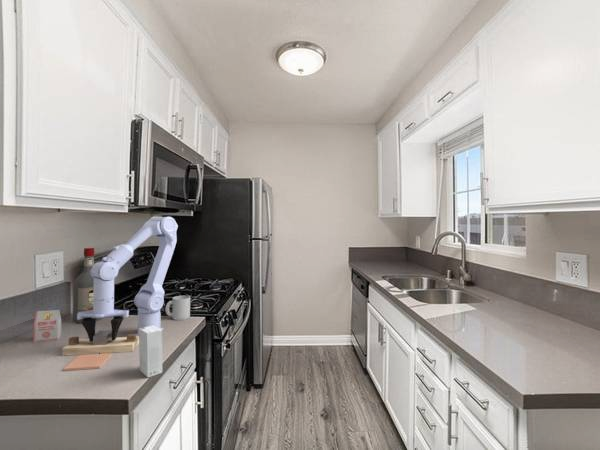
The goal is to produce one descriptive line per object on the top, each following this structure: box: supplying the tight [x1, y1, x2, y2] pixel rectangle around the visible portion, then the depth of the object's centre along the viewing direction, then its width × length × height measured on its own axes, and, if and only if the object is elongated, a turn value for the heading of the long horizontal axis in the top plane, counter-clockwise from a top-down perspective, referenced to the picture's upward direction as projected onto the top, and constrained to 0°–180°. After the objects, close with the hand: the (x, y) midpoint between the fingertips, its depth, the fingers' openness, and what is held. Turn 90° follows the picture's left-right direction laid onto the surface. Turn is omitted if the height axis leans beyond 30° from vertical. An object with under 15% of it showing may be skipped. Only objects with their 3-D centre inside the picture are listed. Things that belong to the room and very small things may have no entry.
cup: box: [165, 295, 191, 321], centre depth 134 cm, size 7×10×9 cm
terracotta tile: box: [63, 353, 113, 372], centre depth 92 cm, size 9×9×1 cm
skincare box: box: [138, 325, 163, 378], centre depth 87 cm, size 6×4×12 cm
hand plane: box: [61, 333, 139, 356], centre depth 101 cm, size 8×20×4 cm, turn 102°
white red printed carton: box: [32, 309, 62, 342], centre depth 108 cm, size 4×7×10 cm, turn 111°
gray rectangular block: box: [93, 329, 112, 345], centre depth 101 cm, size 5×4×3 cm
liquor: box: [72, 247, 103, 324], centre depth 130 cm, size 9×9×30 cm
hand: (103, 339), depth 101 cm, fingers open, 6 cm apart
